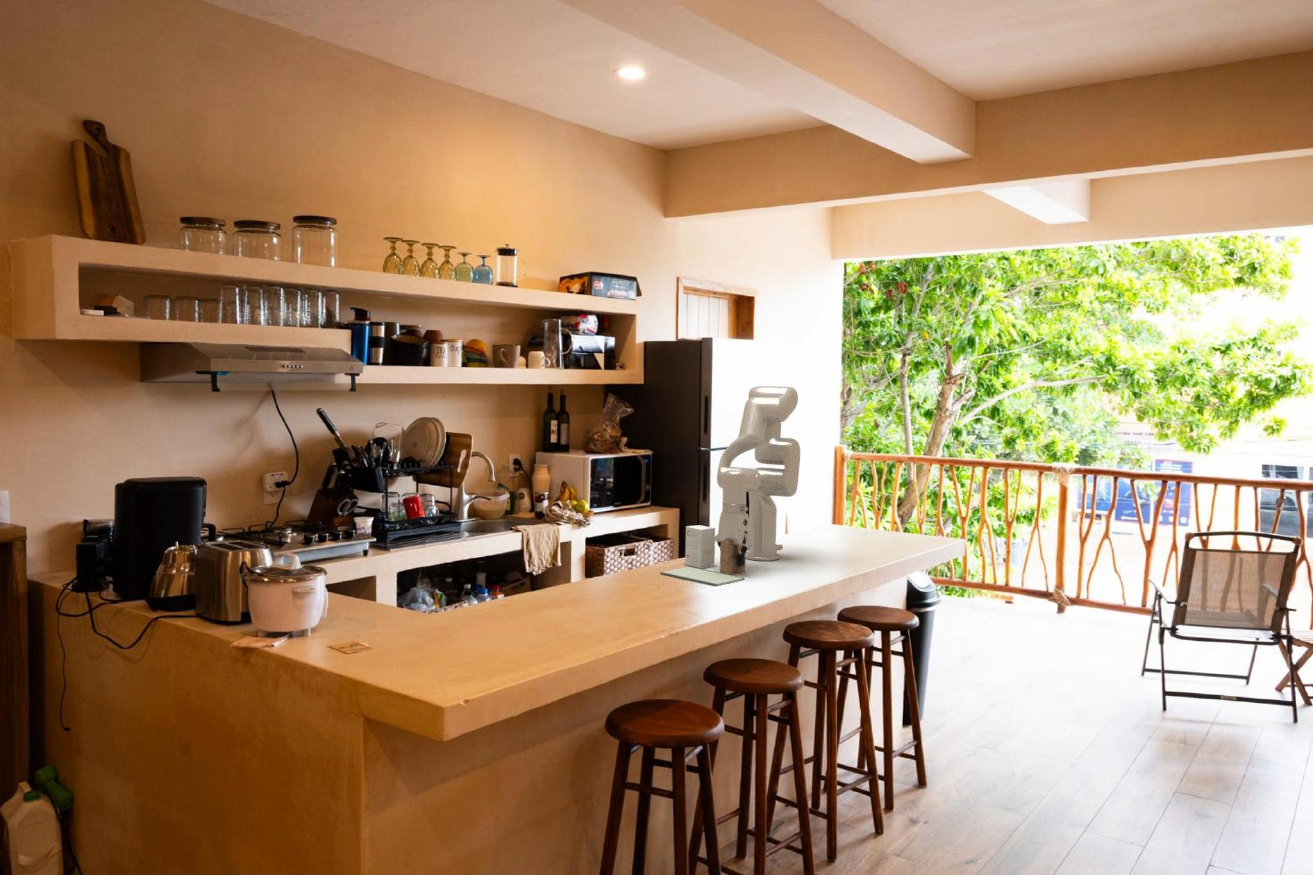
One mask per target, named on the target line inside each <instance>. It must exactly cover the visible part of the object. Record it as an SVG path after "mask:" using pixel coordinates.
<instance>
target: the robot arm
mask: <svg viewBox="0 0 1313 875" xmlns="http://www.w3.org/2000/svg"><path fill="white" fill-rule="evenodd" d="M798 402H799V395H798V391H797V390H796V388H794V387H792V386H780V385H779V386H776V385H775V386H774V385H760V386H754V387H751V388H750V390H749V391H748V399H747V400H746V402H745V404H744V408H743V412H742V413H743V414H742V418H741V422H740V428H739V431H738V436H737V438H736V439H734V440H733V441H732V442H731V443H730V444H729V445H728V446H727V448H726V449H725V450H724V451H723V453H722V454H721V457H720V459H719V463H718V468H717V473H716V474H717V475H716V483H717V485H718V487H719V488H720V489H722V506H721V508H722V511H721V512H720V515H719V521H718V522H719V523H718V530H717V531H718V532H717V534H715V538H714V539H715V543H717V546H718V547H719V551H720V550H721V540H730V541H733V544H734V545H737V549H738V553H739V554H737V564H736V565H737V566H738V567H739V566H744V561H745V562H746V559H747V560H750V561H751V560H753V561H761V562H762V561H763V562H765V561H766V562H768V561H769V562H770V561H777V560H779V559H780V558H781V557H780V556H781V555H780V554H779V553H777V552H778V551H781V550H783V548H784V546H783V545H782V544H777V542H776V541H777V540H776V539H777V516H778V515H777V505H776V503H775V501H774V500H773V498H772V497H783V498H784V497H786V498H788V497H789V498H790V497H793V496H794V495H796V493H797V490H798V487H799V486H798V485H799V474H800V463H801V462H800V461H801V446H800V443H799V442H798V440H796V439H795V438H791V437H781V433H782V432H781V431H782V423H784V422H785V421H786V420H788V418H789V417H790V416H791V414H792V413H793V412H794V411H795V409H796V408H797V406H798ZM751 450H754V459H755V461H756V462H757V463H759V464H763V465H772V466H773V465H776V466H784V468H775V467H755V468H750V467H740V466H739V467H738V466H736V467H735V466H732V463H733V462H734V460H735V459H737V458H738V456H740V455H742V454H744V453H746V452H749V451H751ZM747 492H748V502H749V503H748V504H749V505H748V506H749V507H748V506H747ZM747 512H749V513H747ZM745 544H746V546H745ZM741 547H742V549H741Z"/></svg>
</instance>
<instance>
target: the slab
mask: <svg viewBox="0 0 1313 875" xmlns="http://www.w3.org/2000/svg"><path fill="white" fill-rule="evenodd" d="M745 546H746V544H745ZM741 549H742V547H741ZM719 551H720V554H719V556H720V557H719V558H720V559H719V573H724V574H728V575H733V576H735V575H737V574H742V573H746V560H745V561H744V566H739V567H738V566H737V565H736V564H737V554H739V553H738V549H737V545H734V544H733V541H730V540H721V550H720V549H719Z"/></svg>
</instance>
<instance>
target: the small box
mask: <svg viewBox="0 0 1313 875" xmlns="http://www.w3.org/2000/svg"><path fill="white" fill-rule="evenodd" d="M715 536H716V528H715V527H712V526H705V525H702V524H701V525H700V524H698V525H687V526H685V553H684V555H685V556H684V557H685V558H684V559H685V560H684V562H685V566H688V567H695V568H699V569H705V568H711V567H712V568H713V567H715V566H716V565H715V560H716V559H715V557H716V555H715V554H716V553H715V552H716V550H715V548H716V541H715V539H714V538H715Z"/></svg>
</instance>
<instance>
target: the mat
mask: <svg viewBox="0 0 1313 875" xmlns="http://www.w3.org/2000/svg"><path fill="white" fill-rule="evenodd" d="M659 573H660V574H659V575H662V576H668V577H671V578H677V579H679V580H685V581H690V582H694V583H699V584H703V585H708V586H712V587H719V586H723V585H727V584H732V583H736V582H741V581H745V577H742V576H738V575H728V574H724V573H720V571H715V570H714V571H713V570H707V569H705V568H697V567H693V566H687V567H681V568H677V569H671V570H665V571H660V572H659Z"/></svg>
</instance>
